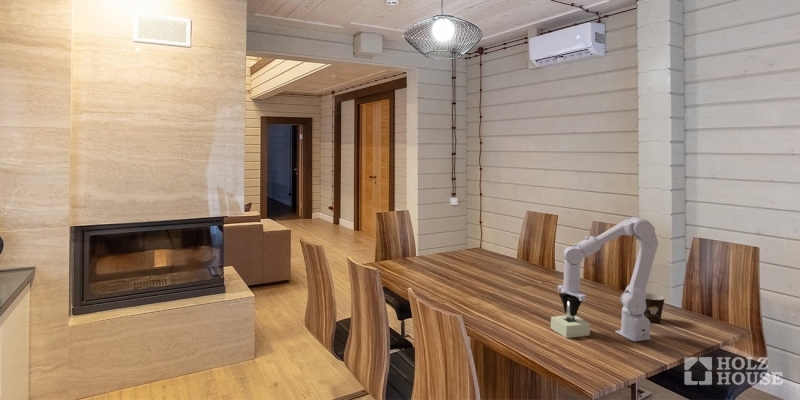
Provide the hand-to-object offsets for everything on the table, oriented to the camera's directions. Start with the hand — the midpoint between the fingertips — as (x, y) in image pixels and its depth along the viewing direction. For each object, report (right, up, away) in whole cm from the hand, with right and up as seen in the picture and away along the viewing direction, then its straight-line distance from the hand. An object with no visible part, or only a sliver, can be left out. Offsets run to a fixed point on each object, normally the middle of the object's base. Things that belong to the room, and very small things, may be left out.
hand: (570, 313), depth 174 cm
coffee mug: (+36, -6, +13) cm, 39 cm away
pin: (0, -3, 0) cm, 3 cm away
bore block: (0, -7, +1) cm, 7 cm away
